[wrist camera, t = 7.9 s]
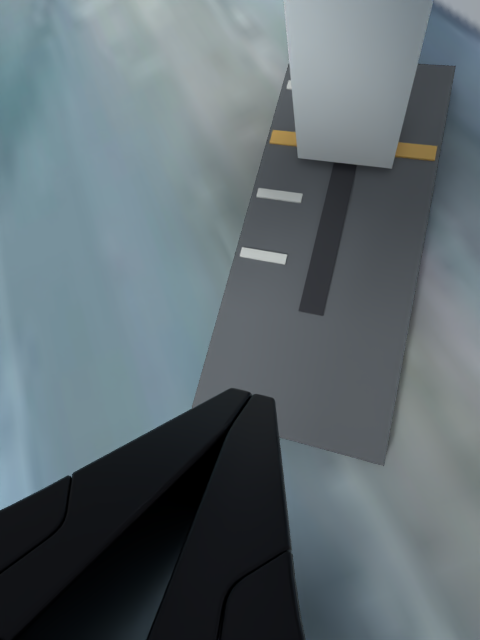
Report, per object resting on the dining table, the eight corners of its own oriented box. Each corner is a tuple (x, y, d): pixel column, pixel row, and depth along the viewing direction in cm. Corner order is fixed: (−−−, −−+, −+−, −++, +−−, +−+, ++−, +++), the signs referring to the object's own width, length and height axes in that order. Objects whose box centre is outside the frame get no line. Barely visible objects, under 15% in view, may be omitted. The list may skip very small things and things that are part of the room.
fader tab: (393, 170, 22) (504, -262, 8) (295, 159, 23) (256, -234, 10) (406, 107, 23) (526, -378, 9) (311, 99, 24) (295, -340, 10)
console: (380, 464, 20) (384, 465, 18) (197, 414, 22) (189, 412, 21) (449, 83, 24) (456, 64, 23) (292, 73, 26) (290, 55, 25)
